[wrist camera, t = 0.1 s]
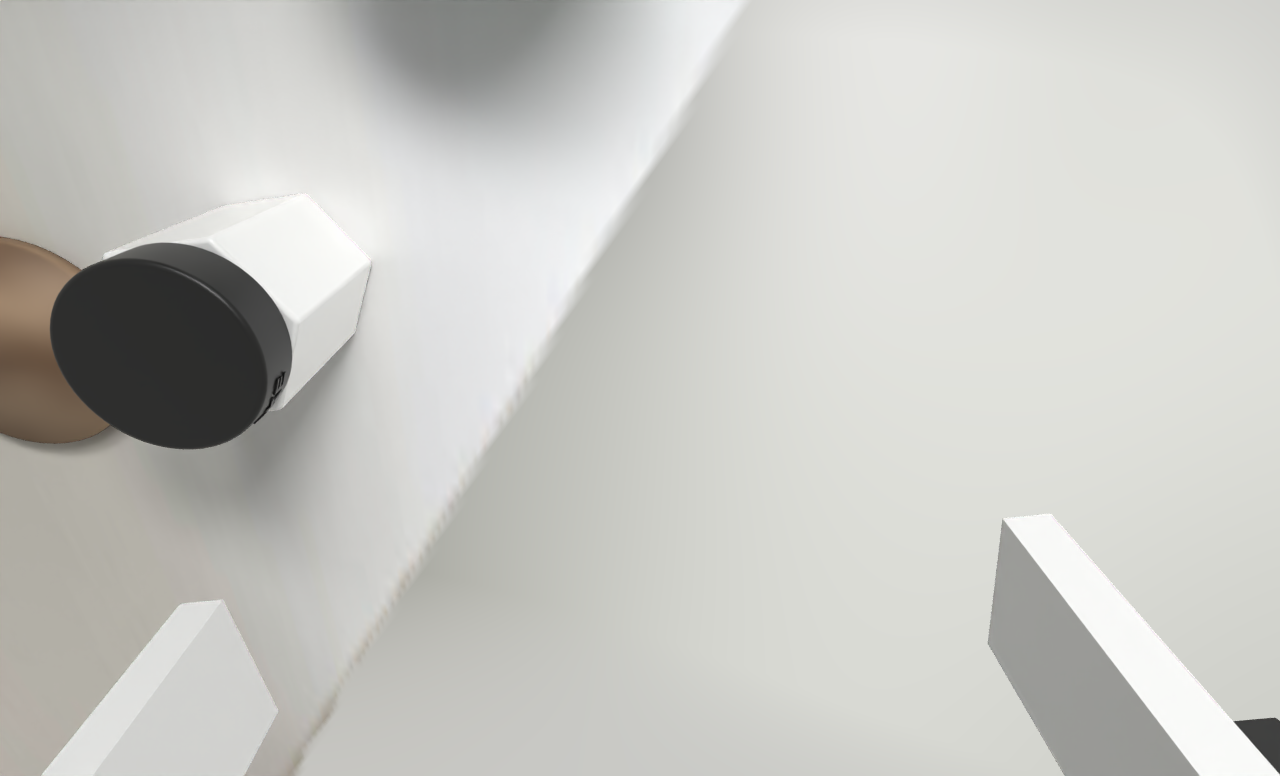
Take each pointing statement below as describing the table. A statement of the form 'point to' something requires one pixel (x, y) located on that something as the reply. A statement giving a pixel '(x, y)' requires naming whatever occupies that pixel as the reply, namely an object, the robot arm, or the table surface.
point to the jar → (210, 320)
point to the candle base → (35, 350)
